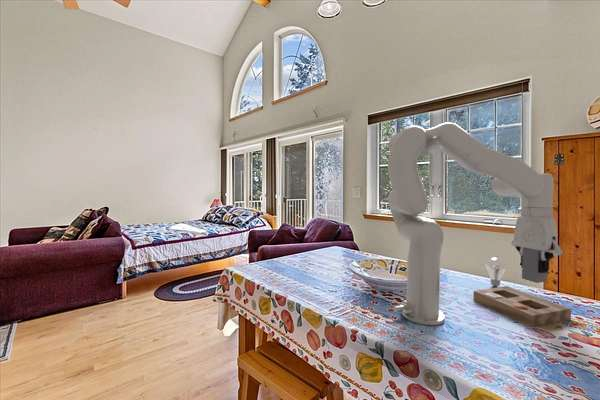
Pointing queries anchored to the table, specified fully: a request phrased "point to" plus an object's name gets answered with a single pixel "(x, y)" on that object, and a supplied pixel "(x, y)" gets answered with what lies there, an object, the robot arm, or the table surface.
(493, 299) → the socket block
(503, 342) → the table surface
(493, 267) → the light bulb
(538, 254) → the plug
